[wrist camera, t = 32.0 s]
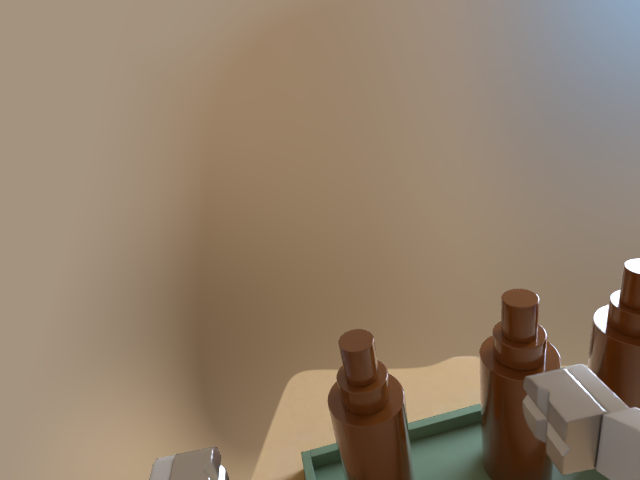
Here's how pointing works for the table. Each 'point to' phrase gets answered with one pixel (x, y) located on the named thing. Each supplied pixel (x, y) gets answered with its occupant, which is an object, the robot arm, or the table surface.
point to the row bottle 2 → (619, 338)
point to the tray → (433, 451)
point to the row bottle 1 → (513, 390)
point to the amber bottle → (369, 414)
